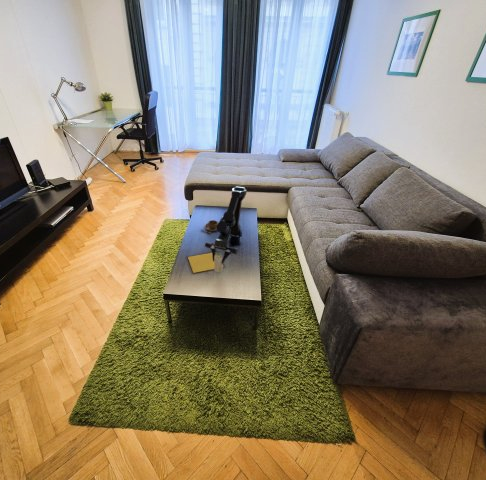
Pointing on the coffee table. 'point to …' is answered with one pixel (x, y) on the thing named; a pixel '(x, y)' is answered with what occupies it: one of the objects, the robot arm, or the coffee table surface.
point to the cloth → (201, 262)
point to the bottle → (218, 262)
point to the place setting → (211, 226)
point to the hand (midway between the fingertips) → (217, 262)
